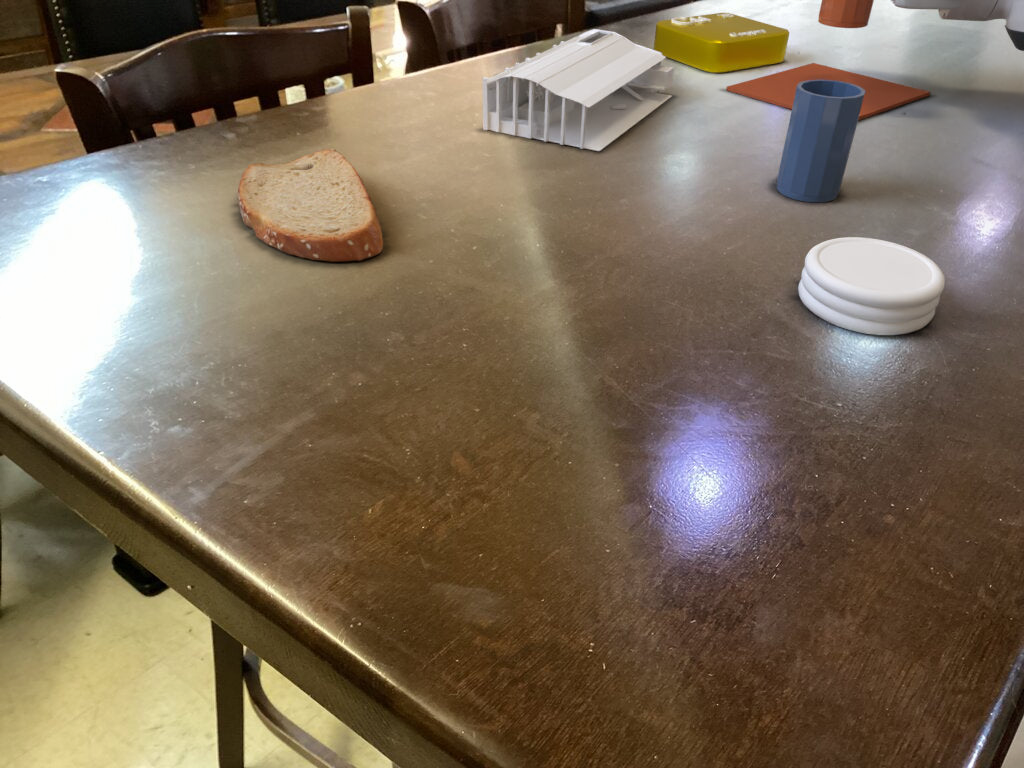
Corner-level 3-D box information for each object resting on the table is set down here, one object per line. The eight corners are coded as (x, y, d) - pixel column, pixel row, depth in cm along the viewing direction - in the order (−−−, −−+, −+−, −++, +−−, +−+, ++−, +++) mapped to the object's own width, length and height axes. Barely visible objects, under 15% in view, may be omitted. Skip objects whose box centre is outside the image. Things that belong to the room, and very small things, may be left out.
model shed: (596, 154, 89) (601, 89, 85) (481, 131, 95) (480, 69, 91) (673, 95, 107) (680, 39, 103) (572, 79, 113) (575, 25, 108)
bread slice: (365, 269, 67) (361, 227, 65) (176, 239, 71) (166, 199, 69) (443, 188, 81) (442, 151, 78) (282, 167, 85) (276, 131, 83)
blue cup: (850, 192, 81) (878, 90, 75) (815, 207, 78) (841, 102, 72) (799, 174, 85) (821, 75, 79) (763, 188, 82) (784, 86, 76)
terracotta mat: (929, 95, 108) (930, 91, 108) (845, 125, 98) (846, 121, 98) (812, 66, 120) (813, 62, 119) (725, 90, 109) (726, 86, 109)
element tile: (713, 75, 115) (718, 39, 112) (647, 51, 125) (651, 17, 123) (789, 62, 121) (796, 27, 118) (721, 40, 132) (726, 8, 129)
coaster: (813, 262, 69) (823, 224, 67) (940, 293, 65) (955, 253, 63) (781, 314, 62) (791, 273, 60) (921, 352, 58) (937, 310, 56)
